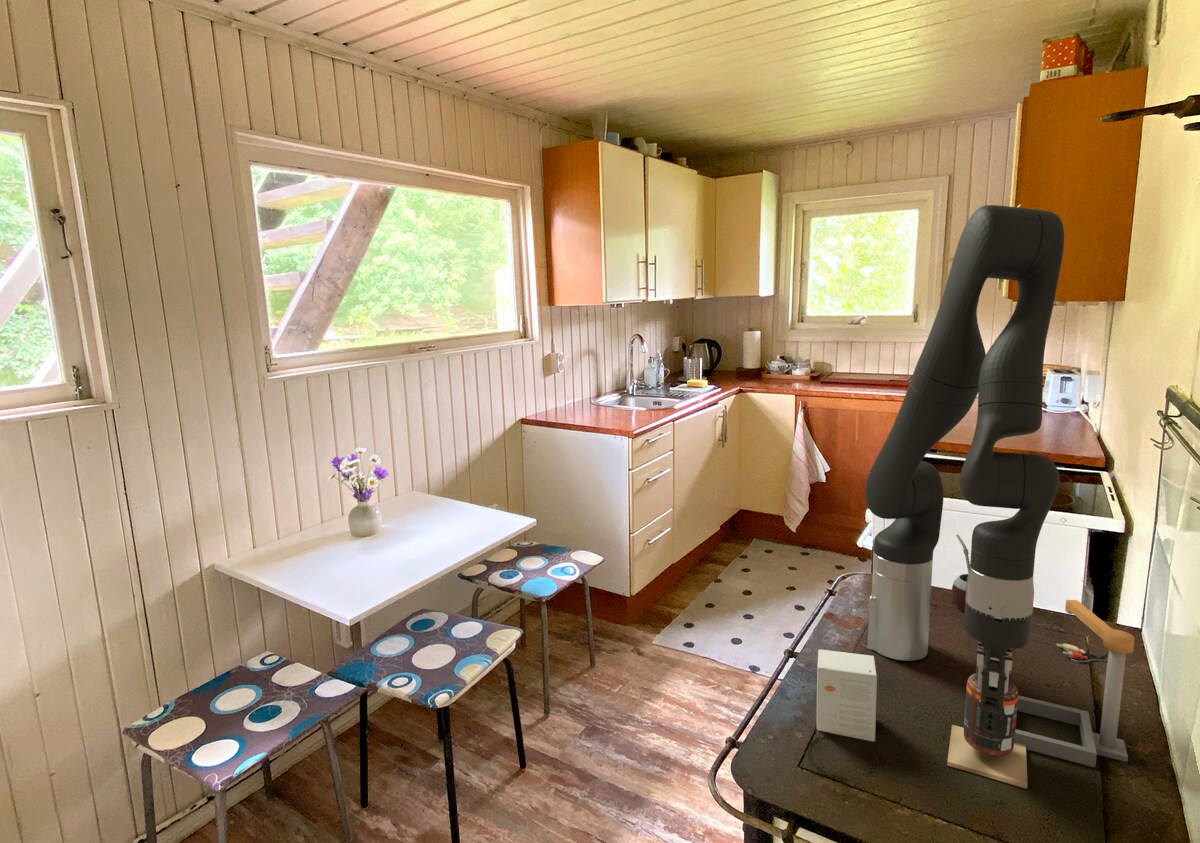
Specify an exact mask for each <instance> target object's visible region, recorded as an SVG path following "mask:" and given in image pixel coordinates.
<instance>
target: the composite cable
mask: <svg viewBox="0 0 1200 843" xmlns="http://www.w3.org/2000/svg"><path fill="white" fill-rule="evenodd" d="M1056 646H1057V647H1058V648H1060V649H1062V650H1064V651H1063V652H1062V654H1063V655H1066V657H1068V658H1070V660H1071V661H1072V660H1073V661H1074V662H1073V661H1072V662H1073V663H1075V662H1077V663H1076V664H1079V663H1082V665H1085V664H1084V663H1086V664H1089V663H1092V662H1106V663H1108V654H1109V653H1107V654H1106V653H1105V654H1103V655H1100V656H1098V655H1094V654H1093V653H1092V654H1091V653H1089V652H1087V650H1084V649H1082V648H1078V647H1077V646H1076V645H1073V644H1069V643H1062V644H1061V643H1056ZM1072 658H1073V659H1072ZM1078 659H1079V660H1078Z"/></svg>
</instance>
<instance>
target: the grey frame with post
mask: <svg viewBox="0 0 1200 843" xmlns="http://www.w3.org/2000/svg"><path fill="white" fill-rule="evenodd" d="M1107 654H1108V658H1107V660H1108V662H1106V663H1107V664H1106V665H1107V666H1106V672H1105V673H1106V674H1105V682H1104V683H1105V684H1104V692H1103V701H1102V712H1101V722H1100V728H1099V729H1100V730H1099V733H1097V732H1094V731H1093V729H1092V724H1091V718H1090V714H1089V711H1087V710H1083V709H1080V708H1079V709H1078V708H1074V707H1070V706H1065V705H1062V704H1057V703H1053V702H1049V701H1044V700H1041V699H1040V700H1039V699H1035V698H1030V697H1028V696H1022V695H1019V694H1018V707H1017V712H1020V713H1025V714H1030V715H1033V716H1036V717H1042V718H1046V719H1049V720H1054V721H1058V722H1062V723H1065V724H1069V725H1075V726H1078V727H1079V732H1080V739H1081V745H1079V744H1075V743H1071V742H1068V741H1064V740H1060V739H1055V738H1052V737H1048V736H1044V735H1040V734H1036V733H1032V732H1029V731H1025V730H1021V729H1016V730H1015V741H1014V742H1016V743H1020V744H1024V745H1026V751H1032V752H1035V753H1039V754H1042V755H1046V756H1051V757H1055V758H1057V759H1060V760H1061V759H1062V760H1066V761H1069V762H1072V763H1076V764H1079V765H1083V766H1088V767H1091V768H1096V764H1097V755H1098V756H1101V757H1105V758H1109V759H1112V760H1116V761H1120V762H1126V763H1128V761H1129V755H1128V750H1127V747H1126V743H1125V740H1124V739H1121V738H1119V737H1118V738H1117V736H1118V729H1119V719H1120V712H1121V710H1120V709H1121V703H1122V702H1121V701H1122V691H1123V683H1124V676H1125V675H1124V674H1125V667H1126V657H1127V654H1124V653H1118V652H1114V651H1111V650H1109V649H1108V653H1107Z"/></svg>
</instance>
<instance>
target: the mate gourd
mask: <svg viewBox="0 0 1200 843" xmlns="http://www.w3.org/2000/svg"><path fill="white" fill-rule="evenodd" d="M955 536H956V537H957V540H958V541H959V542H960V545H961V546H962V549H963V550H962V551H963V555H964V557H965V562H966V568H967V573H963V574H959V575H958V576H957V577H956V579H954V581H953V584H952V587H951V588H952V589H951V596H952V604H954V605H955V606H956V608H957V609H958V610H960V611H961V612H963V613H965V599H966V585H967V578H968V574H969V569H970V557H969V549H968V548H967V545H966V544H965V543H964V542H965V541H963V540H962V537H961V536H960V535H959V534H956V535H955Z"/></svg>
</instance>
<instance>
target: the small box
mask: <svg viewBox="0 0 1200 843" xmlns="http://www.w3.org/2000/svg"><path fill="white" fill-rule="evenodd" d="M816 667H817V670H816V671H817V673H816V674H817V676H816V677H817V678H816V680H817V681H816V730H817V731H820V732H824V733H829V734H835V735H838V736H839V735H840V736H845V737H848V738H855V739H860V740H865V741H869V742H874V743H875V742H876V723H877V722H876V721H877V720H876V719H877V715H876V714H877V693H878V690H877V688H878V685H877V684H878V675H877V667H876V661H875V656H874V655H869V654H861V653H854V652H853V653H852V652H846V651H845V652H843V651H837V650H827V649H821V648H820V649H818V651H817V666H816Z"/></svg>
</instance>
